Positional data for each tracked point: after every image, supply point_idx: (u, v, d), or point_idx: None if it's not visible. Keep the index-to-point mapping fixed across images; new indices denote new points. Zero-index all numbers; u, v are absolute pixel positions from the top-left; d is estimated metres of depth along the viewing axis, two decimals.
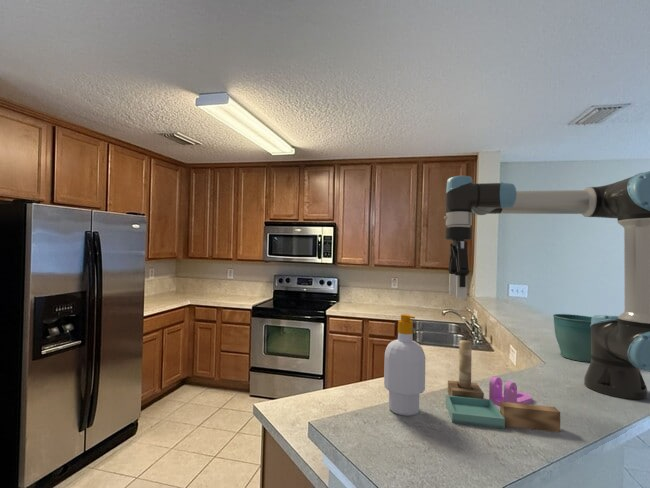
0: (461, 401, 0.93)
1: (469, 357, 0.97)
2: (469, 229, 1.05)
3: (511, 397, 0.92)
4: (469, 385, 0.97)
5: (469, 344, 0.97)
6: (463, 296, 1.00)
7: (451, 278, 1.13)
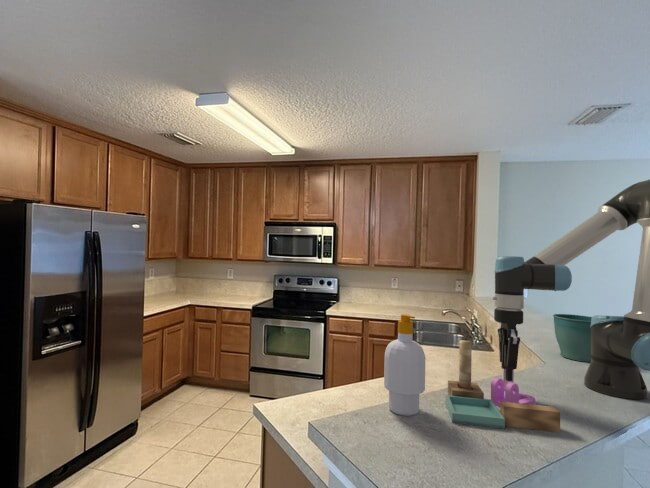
0: (461, 401, 0.93)
1: (469, 357, 0.97)
2: (521, 314, 0.99)
3: (512, 399, 0.91)
4: (469, 385, 0.97)
5: (469, 344, 0.97)
6: None
7: None
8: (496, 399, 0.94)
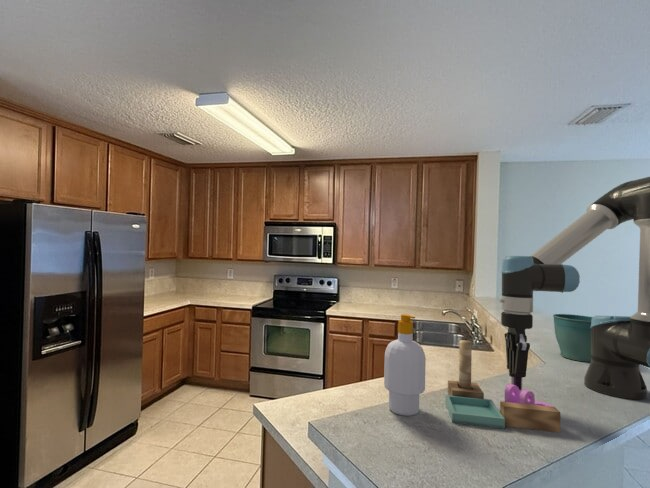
0: (461, 401, 0.93)
1: (469, 357, 0.97)
2: (531, 317, 0.92)
3: None
4: (469, 385, 0.97)
5: (469, 344, 0.97)
6: None
7: None
8: None
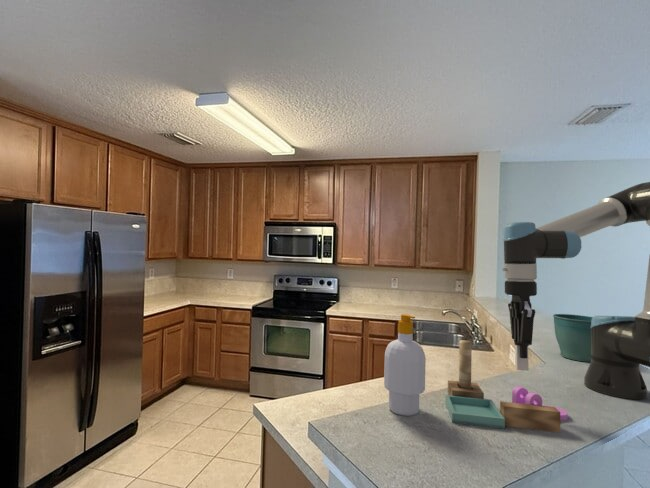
0: (461, 401, 0.93)
1: (469, 357, 0.97)
2: (535, 284, 0.91)
3: None
4: (469, 385, 0.97)
5: (469, 344, 0.97)
6: (524, 367, 0.92)
7: None
8: None
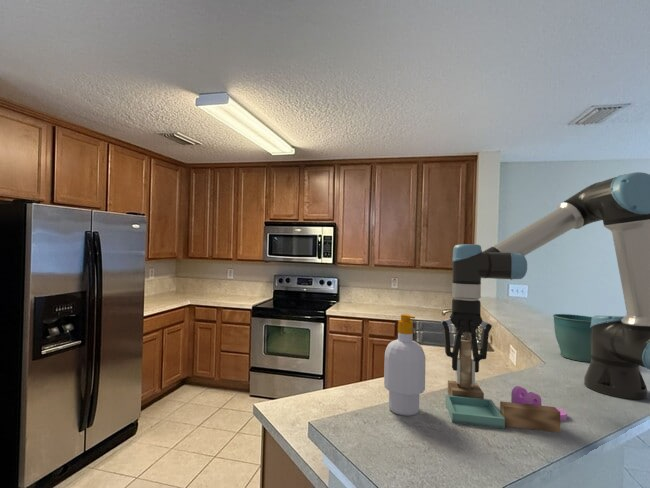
0: (461, 401, 0.93)
1: (469, 357, 0.97)
2: (458, 302, 0.97)
3: None
4: (469, 385, 0.97)
5: (469, 344, 0.97)
6: (456, 380, 0.98)
7: None
8: None
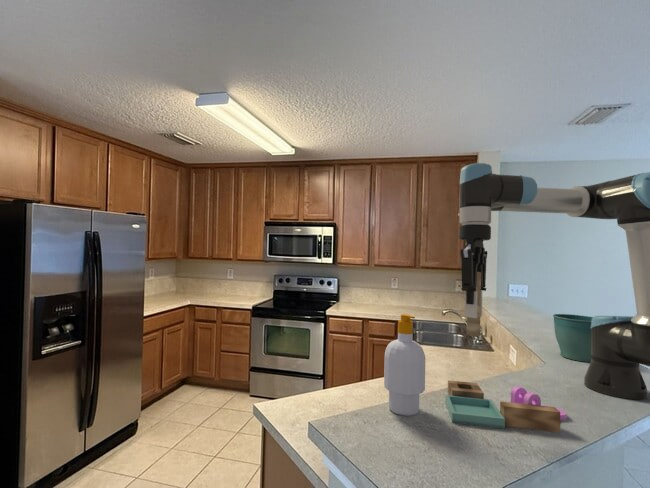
0: (461, 401, 0.93)
1: None
2: (482, 227, 0.86)
3: None
4: None
5: None
6: (472, 315, 0.87)
7: None
8: None
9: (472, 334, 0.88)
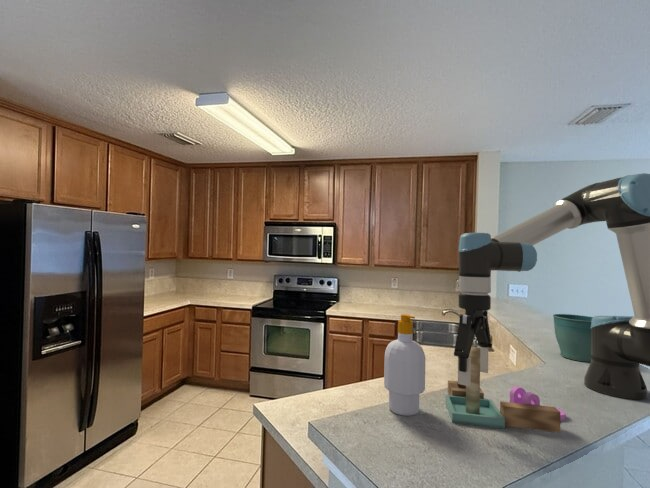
0: (461, 401, 0.93)
1: None
2: (482, 298, 0.85)
3: None
4: None
5: None
6: (465, 382, 0.83)
7: None
8: None
9: (471, 413, 0.86)
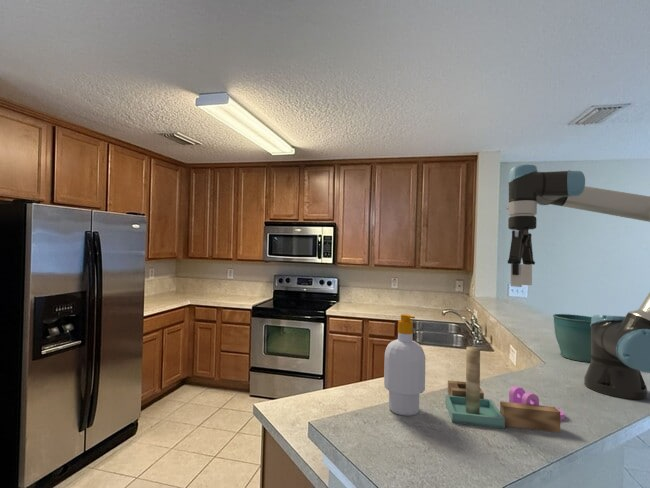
0: (461, 401, 0.93)
1: None
2: (530, 218, 1.04)
3: None
4: None
5: None
6: (517, 284, 1.01)
7: (523, 268, 1.12)
8: None
9: (471, 413, 0.86)
